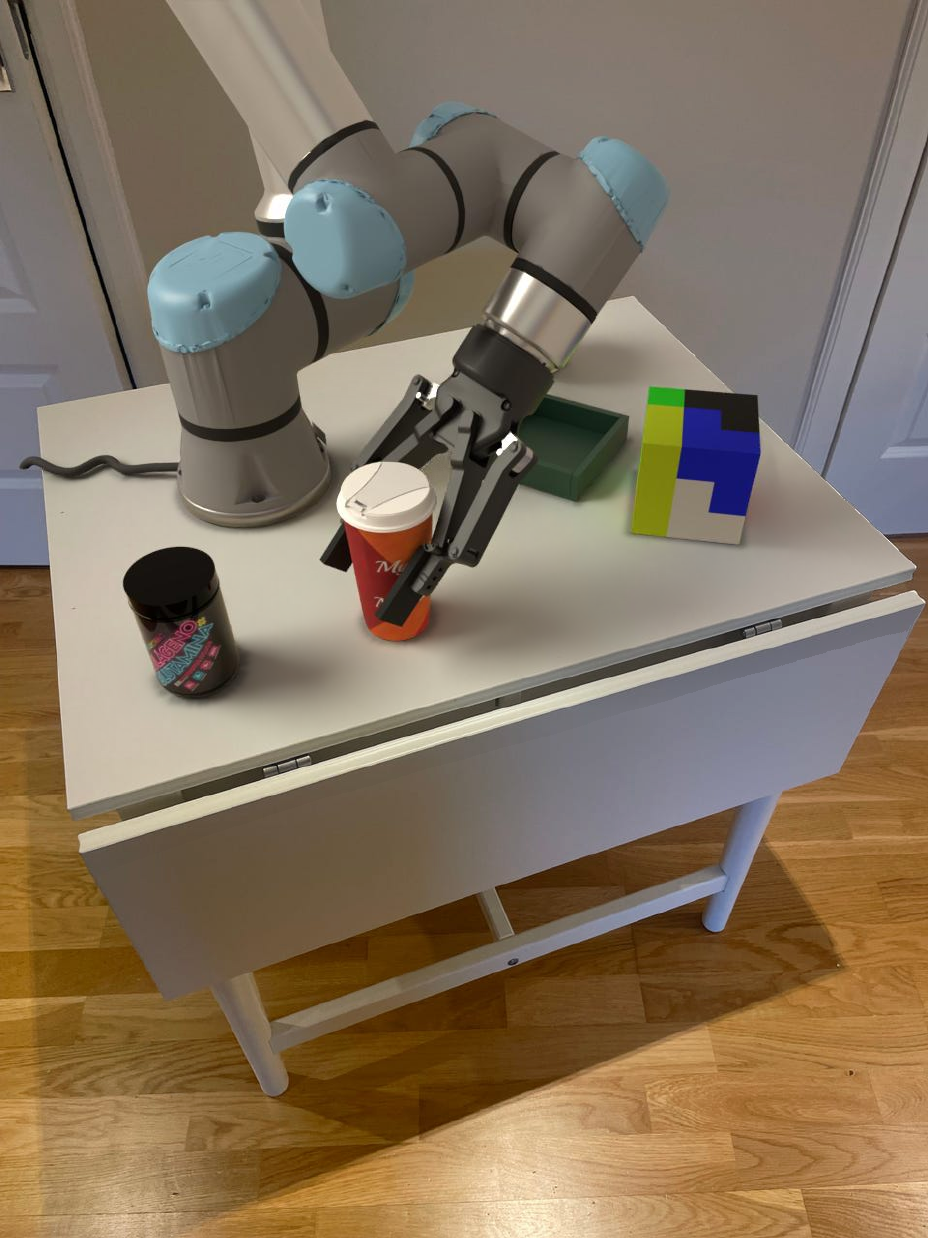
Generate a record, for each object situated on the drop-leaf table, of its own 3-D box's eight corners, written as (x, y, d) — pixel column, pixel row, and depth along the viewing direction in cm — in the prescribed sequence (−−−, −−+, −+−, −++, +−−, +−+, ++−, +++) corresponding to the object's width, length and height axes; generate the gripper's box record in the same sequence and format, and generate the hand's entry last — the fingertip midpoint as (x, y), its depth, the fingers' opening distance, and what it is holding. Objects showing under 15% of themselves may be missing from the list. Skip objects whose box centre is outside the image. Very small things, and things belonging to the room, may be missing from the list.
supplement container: (140, 678, 74) (103, 582, 67) (203, 630, 78) (174, 535, 71) (196, 715, 71) (163, 618, 64) (259, 664, 75) (234, 567, 68)
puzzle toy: (738, 544, 85) (760, 453, 78) (630, 533, 86) (642, 442, 79) (737, 483, 92) (757, 394, 85) (637, 473, 93) (649, 386, 87)
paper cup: (398, 664, 75) (387, 532, 65) (334, 621, 78) (313, 490, 68) (461, 613, 79) (458, 481, 69) (396, 575, 82) (385, 444, 72)
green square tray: (467, 467, 95) (466, 442, 93) (522, 411, 103) (523, 387, 100) (577, 502, 90) (579, 476, 88) (626, 440, 98) (629, 415, 96)
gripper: (635, 422, 66) (462, 673, 70) (465, 322, 78) (326, 542, 82) (586, 379, 60) (401, 656, 64) (410, 278, 72) (264, 518, 77)
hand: (359, 592), depth 73 cm, fingers closed on paper cup, 8 cm apart
